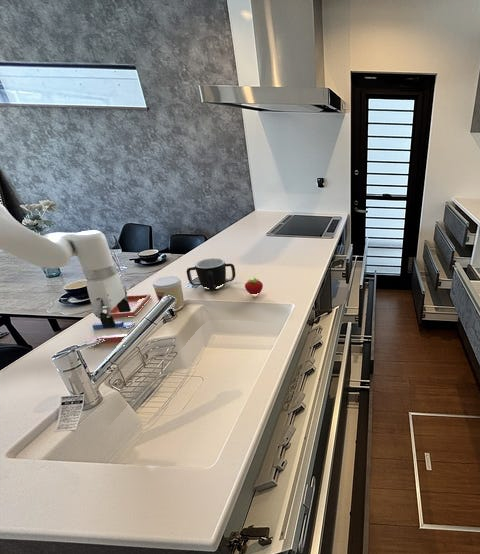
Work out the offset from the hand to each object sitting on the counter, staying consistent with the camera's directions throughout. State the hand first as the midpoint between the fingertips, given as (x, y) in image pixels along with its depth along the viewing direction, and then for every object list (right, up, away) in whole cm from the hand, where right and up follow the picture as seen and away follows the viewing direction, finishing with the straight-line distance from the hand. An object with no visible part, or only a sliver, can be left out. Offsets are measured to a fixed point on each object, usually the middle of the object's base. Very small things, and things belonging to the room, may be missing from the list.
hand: (118, 319), depth 99 cm
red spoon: (-5, -8, +2) cm, 9 cm away
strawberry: (+32, +5, +35) cm, 48 cm away
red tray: (-13, +1, +22) cm, 25 cm away
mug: (+10, +9, +42) cm, 45 cm away
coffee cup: (+3, +1, +24) cm, 24 cm away
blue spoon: (-9, -4, +9) cm, 14 cm away
